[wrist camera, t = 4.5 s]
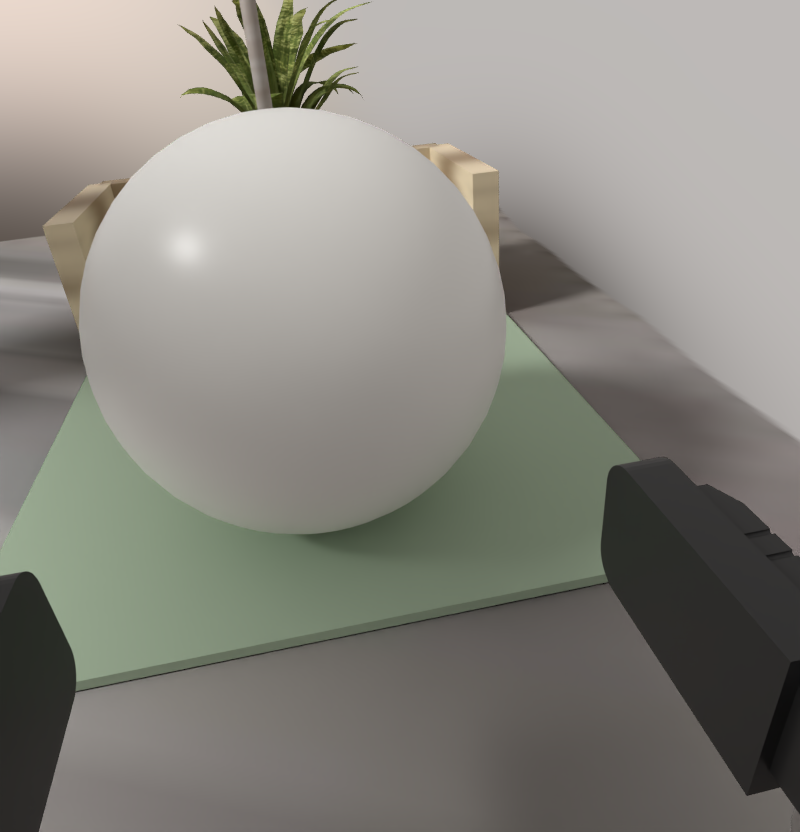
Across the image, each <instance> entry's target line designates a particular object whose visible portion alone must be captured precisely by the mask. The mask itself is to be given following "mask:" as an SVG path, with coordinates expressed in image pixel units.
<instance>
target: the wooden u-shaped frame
mask: <svg viewBox="0 0 800 832" xmlns="http://www.w3.org/2000/svg"><path fill="white" fill-rule="evenodd" d="M239 2H240V8H241V14H242V20H243V26H244V32H245V37H246V43H247V49H248V55H249V61H250V67H251V73H252V79H253V84H254V90H255V96H256V102H257V108H258V110H260V109H269V108H273V107H272V100H271V94H270V88H269V82H268V75H267V69H266V63H265V57H264V51H263V44H262V38H261V32H260V26H259V19H258V13H257V7H256V1H255V0H239ZM412 147H414V148H415V149H416V150H417V151H419V152H420V153H421V154H422V155H424V156H425V157H426V158H428V159H429V160H430V161H431V162H433V163H434V164H435V165H436V166H437V167H438V168H439V169H440V170H441V171H442V172H443V174H444V175H445V176H446V177H447V178H448V179H449V180H450V181H451V182H452V183H453V184H454V185H455V186H456V187H457V188H458V190H459V191H460V192H461V194H462V195H463V197H464V198H465V199H466V201H467V202H468V203H469V205H470V206H471V208H472V209H473V210H474V212H475V214H476V216H477V218H478V220H479V222H480V223H481V225H482V227H483V229H484V231H485V233H486V235H487V237H488V240H489V242H490V245H491V248H492V251H493V253H494V256H495V259H496V262H497V264H498V267H499V171H498V170H496V169H494V168H492V167H491V166H489V165H487V164H485V163H483V162H481V161H480V160H478V159H476V158H474V157H472V156H470V155H469V154H466V153H465V152H463V151H461V150H459V149H457V148H456V147H454V146H452V145H450V144H448V143H447V144H439V145H437V144H436V143H432V144H424V145H415V146H412ZM129 179H130V178H128V179H119V180H110V181H103V182H102V183H100V184H92V185H88V186H87V187H86V188H85V189H84V190H82V191H81V192H80V193H79V194H78V195H77V196H76V197H75V198H73V199H72V200H71V201H70V202H69V203H68V204H67V205H66V206H64V207H63V208H62V209H61V210H60V211H59V212H58V213H57V214H56V215H54V216H53V217H52V218H51V219H50V220H49V221H48V222H47V223H45V224H44V226H42V227H43V230H44V233H45V236H46V239H47V241H48V244H49V247H50V250H51V253H52V256H53V259H54V262H55V264H56V267H57V270H58V273H59V276H60V279H61V282H62V284H63V287H64V290H65V293H66V296H67V299H68V302H69V305H70V307H71V310H72V313H73V316H74V319H75V322H76V325H77V328H78V330H79V309H80V289H81V283H82V278H83V273H84V268H85V263H86V259H87V256H88V253H89V251H90V248H91V245H92V242H93V239H94V237H95V234H96V232H97V230H98V228H99V226H100V224H101V222H102V220H103V219H104V217H105V215H106V213H107V211H108V209H109V208H110V206H111V204H112V202H113V201H114V199H115V198H116V197H117V195H118V194H119V193H120V191H121V190H122V189H123V187H124V186H125V185H126V183H127V182H128V181H129Z"/></svg>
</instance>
